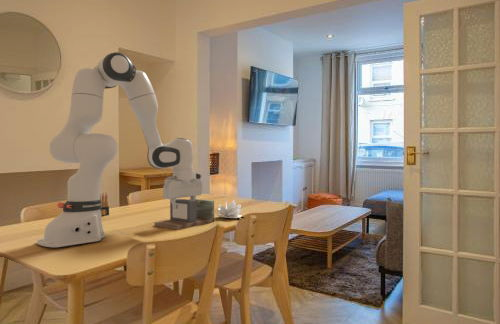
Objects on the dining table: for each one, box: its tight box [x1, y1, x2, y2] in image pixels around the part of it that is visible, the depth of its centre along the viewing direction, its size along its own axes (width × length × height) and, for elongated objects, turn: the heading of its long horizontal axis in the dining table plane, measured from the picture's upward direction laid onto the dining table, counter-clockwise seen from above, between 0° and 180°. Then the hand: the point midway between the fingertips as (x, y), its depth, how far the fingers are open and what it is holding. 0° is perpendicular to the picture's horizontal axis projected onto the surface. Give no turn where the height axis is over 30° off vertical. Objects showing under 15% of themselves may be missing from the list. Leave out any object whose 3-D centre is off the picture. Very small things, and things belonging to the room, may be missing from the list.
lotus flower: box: [214, 199, 245, 219], centre depth 174 cm, size 14×15×9 cm
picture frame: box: [169, 198, 196, 223], centre depth 158 cm, size 4×12×9 cm, turn 54°
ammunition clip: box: [100, 191, 110, 218], centre depth 173 cm, size 11×2×12 cm, turn 150°
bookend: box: [154, 198, 215, 231], centre depth 159 cm, size 22×14×10 cm, turn 144°
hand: (183, 207), depth 158 cm, fingers open, 8 cm apart
